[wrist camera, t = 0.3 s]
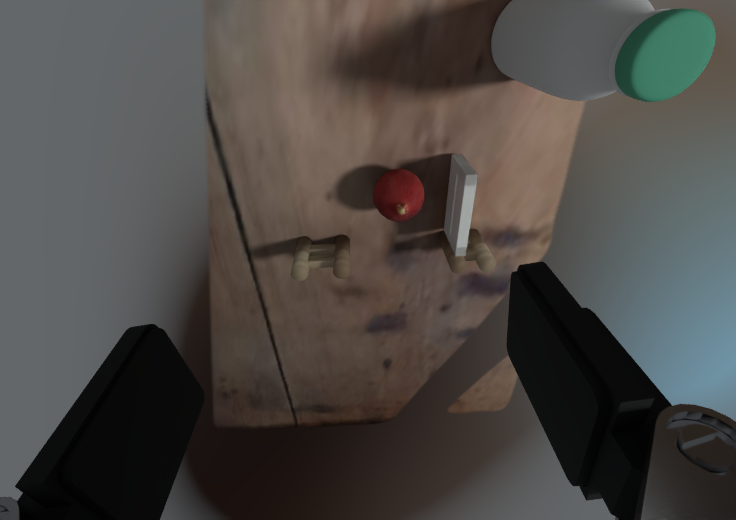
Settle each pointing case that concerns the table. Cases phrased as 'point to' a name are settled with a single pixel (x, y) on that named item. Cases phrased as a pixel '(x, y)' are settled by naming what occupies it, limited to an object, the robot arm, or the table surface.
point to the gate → (459, 203)
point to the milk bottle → (602, 47)
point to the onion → (398, 195)
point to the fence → (340, 255)
